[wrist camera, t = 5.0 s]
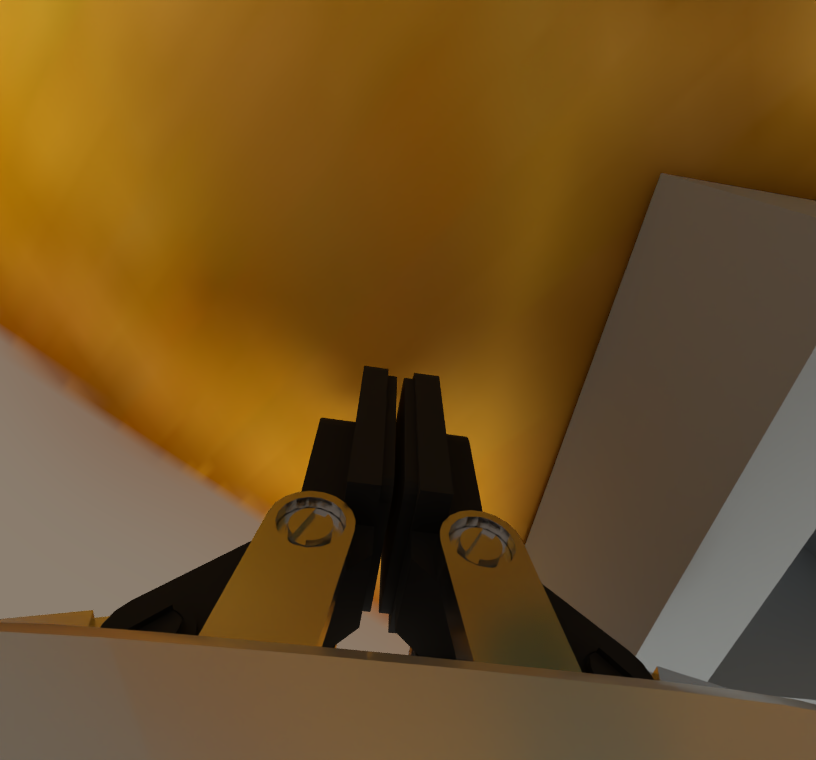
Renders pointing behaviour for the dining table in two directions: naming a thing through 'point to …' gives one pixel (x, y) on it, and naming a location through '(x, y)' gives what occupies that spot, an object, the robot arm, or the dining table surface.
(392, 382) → the robot arm
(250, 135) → the dining table surface
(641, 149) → the dining table surface
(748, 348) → the socket block
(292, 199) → the dining table surface
